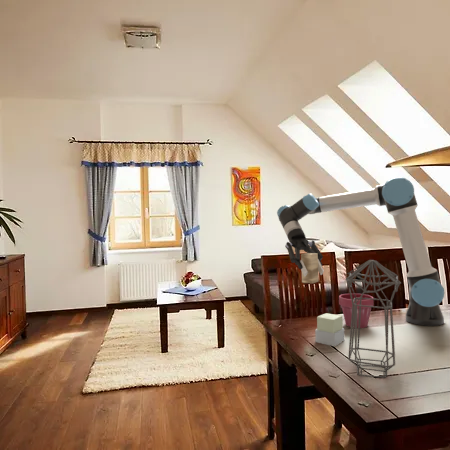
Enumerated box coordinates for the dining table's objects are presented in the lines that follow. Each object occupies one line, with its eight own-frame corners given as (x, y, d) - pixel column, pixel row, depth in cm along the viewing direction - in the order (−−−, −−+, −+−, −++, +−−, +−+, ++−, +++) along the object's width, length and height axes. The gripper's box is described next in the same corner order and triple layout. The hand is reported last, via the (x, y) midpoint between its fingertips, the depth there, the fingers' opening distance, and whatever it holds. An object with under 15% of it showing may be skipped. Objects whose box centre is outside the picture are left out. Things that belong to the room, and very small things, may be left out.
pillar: (318, 281, 159) (317, 253, 159) (312, 283, 156) (311, 254, 156) (308, 280, 163) (307, 252, 163) (301, 282, 159) (300, 254, 159)
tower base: (344, 341, 147) (344, 328, 147) (334, 346, 141) (334, 333, 141) (325, 337, 152) (325, 324, 152) (315, 342, 146) (315, 329, 146)
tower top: (342, 328, 146) (342, 315, 146) (333, 333, 141) (333, 319, 141) (326, 325, 151) (326, 313, 151) (317, 329, 146) (316, 316, 146)
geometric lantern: (347, 359, 128) (347, 256, 127) (398, 366, 122) (399, 258, 121) (343, 378, 113) (343, 262, 112) (401, 386, 107) (401, 264, 106)
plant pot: (374, 322, 170) (373, 293, 170) (374, 331, 157) (373, 300, 157) (341, 319, 175) (340, 292, 175) (338, 328, 162) (337, 299, 162)
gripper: (311, 237, 176) (331, 277, 161) (272, 240, 171) (289, 281, 156) (316, 226, 171) (338, 266, 156) (276, 228, 166) (295, 270, 150)
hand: (314, 273), depth 156 cm, fingers closed on pillar, 7 cm apart
